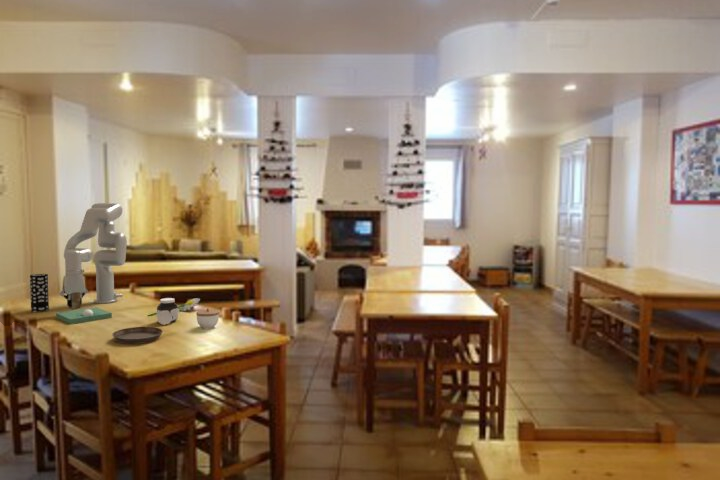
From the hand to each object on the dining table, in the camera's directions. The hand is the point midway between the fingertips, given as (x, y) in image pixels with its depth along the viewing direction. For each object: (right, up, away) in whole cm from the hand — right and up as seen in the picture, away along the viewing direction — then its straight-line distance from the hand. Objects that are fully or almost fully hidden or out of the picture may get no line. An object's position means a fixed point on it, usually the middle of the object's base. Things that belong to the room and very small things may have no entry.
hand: (74, 305), depth 267 cm
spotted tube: (-23, -4, +6) cm, 24 cm away
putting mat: (+10, -5, -9) cm, 14 cm away
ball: (+14, -3, -12) cm, 19 cm away
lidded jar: (+80, -8, -24) cm, 84 cm away
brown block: (0, -1, 0) cm, 1 cm away
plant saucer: (+55, -9, -46) cm, 73 cm away
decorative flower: (+51, -5, +8) cm, 52 cm away
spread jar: (+57, -7, -16) cm, 59 cm away
